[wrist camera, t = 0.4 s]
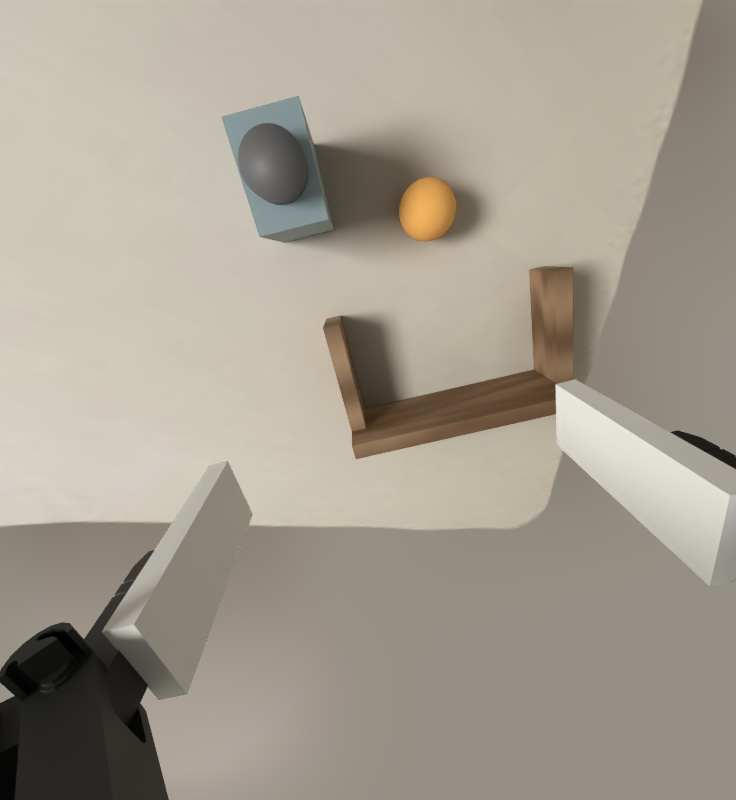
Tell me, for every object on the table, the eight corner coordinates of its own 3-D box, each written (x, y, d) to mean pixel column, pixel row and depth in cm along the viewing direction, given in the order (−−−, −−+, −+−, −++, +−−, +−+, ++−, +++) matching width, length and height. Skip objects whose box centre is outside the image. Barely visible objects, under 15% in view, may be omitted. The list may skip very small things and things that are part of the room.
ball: (391, 190, 33) (398, 179, 28) (443, 177, 32) (459, 163, 28) (401, 247, 34) (409, 246, 30) (451, 235, 34) (466, 231, 30)
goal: (326, 319, 37) (320, 334, 29) (543, 266, 36) (594, 268, 28) (354, 423, 41) (355, 459, 34) (547, 378, 41) (591, 406, 33)
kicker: (259, 158, 31) (209, 103, 20) (313, 144, 31) (293, 80, 20) (284, 242, 34) (252, 235, 23) (334, 229, 34) (326, 216, 22)
